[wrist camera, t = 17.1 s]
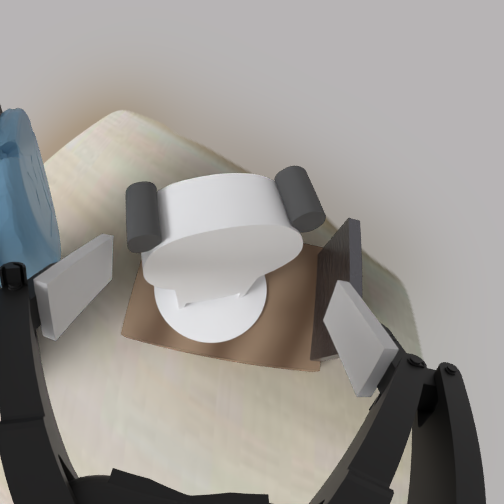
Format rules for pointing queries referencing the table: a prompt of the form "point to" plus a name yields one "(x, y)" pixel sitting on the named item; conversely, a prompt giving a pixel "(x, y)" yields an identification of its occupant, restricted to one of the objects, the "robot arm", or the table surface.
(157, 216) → the panda figurine
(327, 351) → the bookend
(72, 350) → the table surface
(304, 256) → the shelf board
